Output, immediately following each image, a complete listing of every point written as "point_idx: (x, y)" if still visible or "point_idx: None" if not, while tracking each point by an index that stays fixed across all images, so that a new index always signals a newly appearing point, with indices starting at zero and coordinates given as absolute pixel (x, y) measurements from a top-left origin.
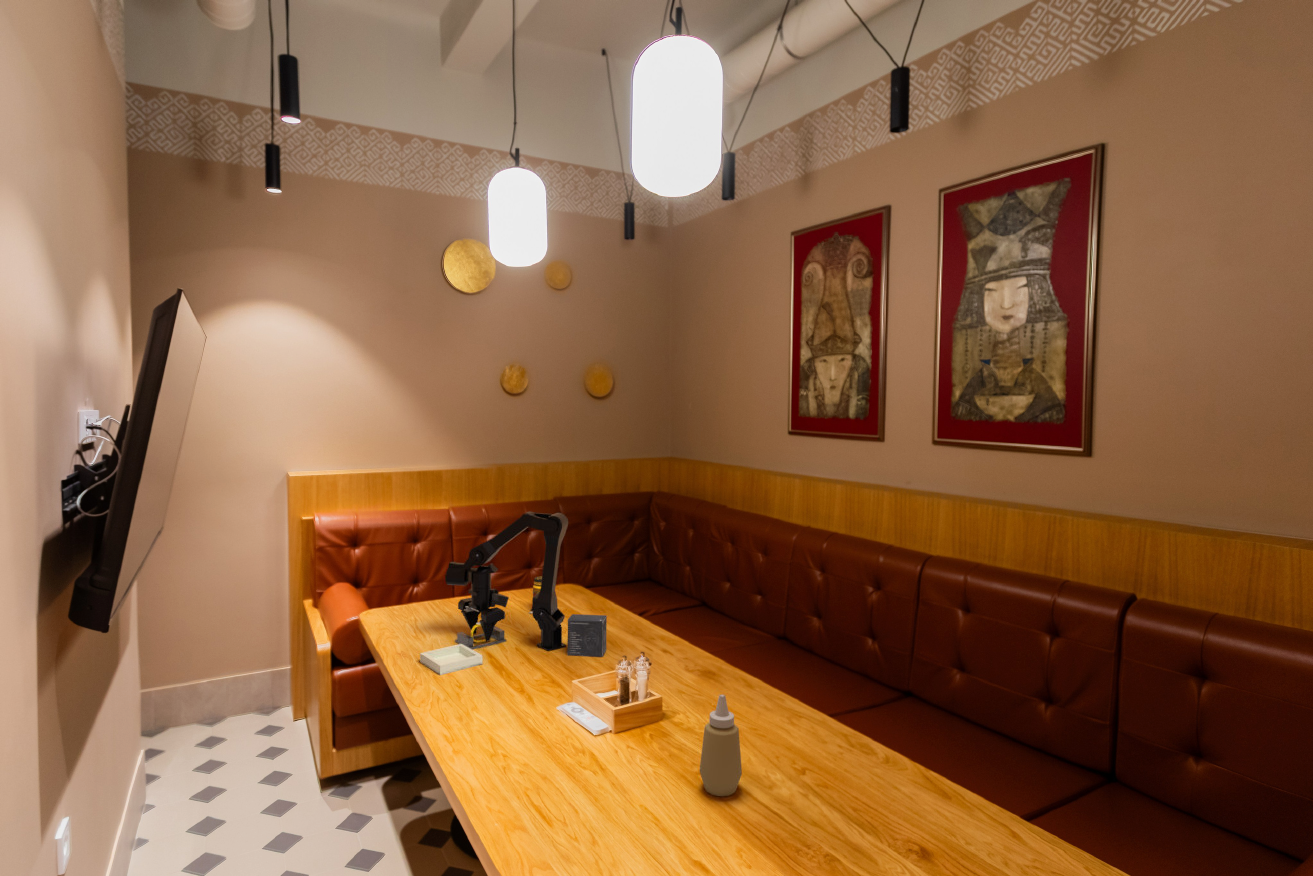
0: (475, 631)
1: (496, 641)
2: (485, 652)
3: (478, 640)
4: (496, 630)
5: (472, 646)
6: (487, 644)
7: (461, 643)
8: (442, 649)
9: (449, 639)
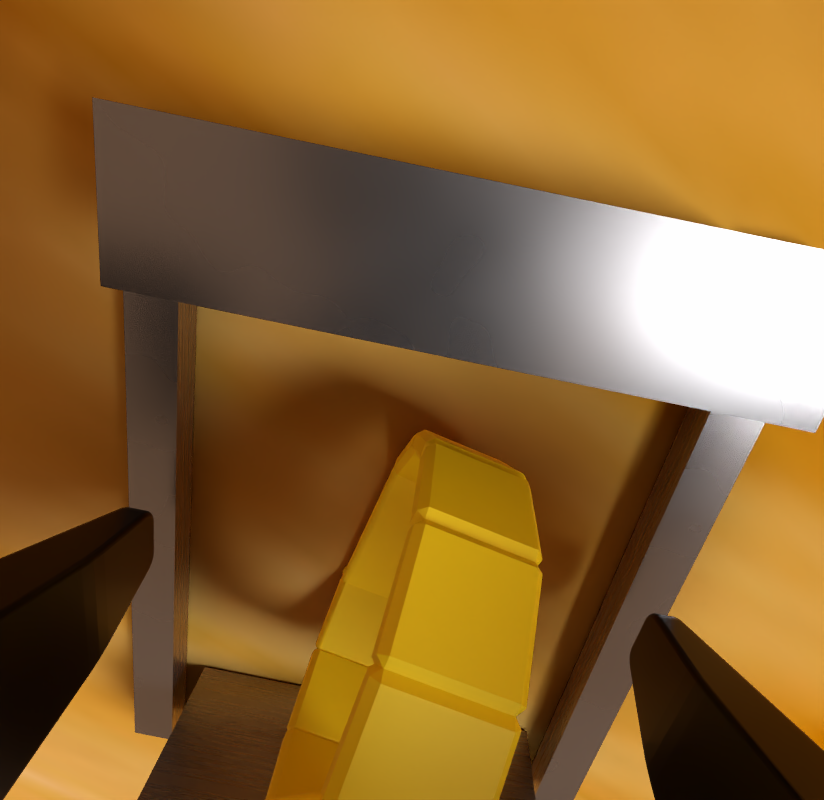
0: (124, 553)
1: (725, 472)
2: None
3: (365, 559)
4: (611, 386)
5: (545, 778)
6: None
7: None
8: None
9: None
